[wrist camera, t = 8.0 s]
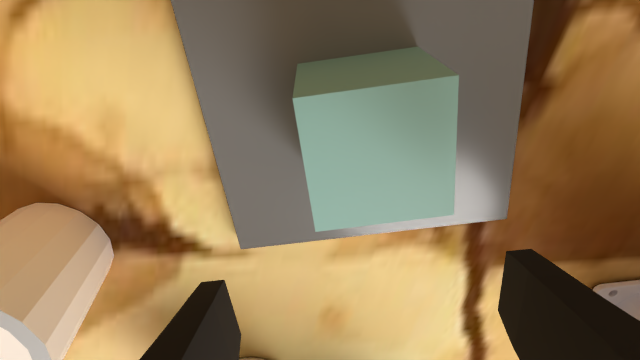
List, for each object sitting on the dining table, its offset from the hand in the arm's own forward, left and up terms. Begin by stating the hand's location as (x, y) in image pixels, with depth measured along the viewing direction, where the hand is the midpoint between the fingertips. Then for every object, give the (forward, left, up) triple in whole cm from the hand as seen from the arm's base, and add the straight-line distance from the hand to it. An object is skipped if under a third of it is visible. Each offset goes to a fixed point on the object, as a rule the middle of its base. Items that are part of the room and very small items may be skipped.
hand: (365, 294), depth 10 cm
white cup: (+16, +4, -10) cm, 19 cm away
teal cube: (-1, -2, -9) cm, 9 cm away
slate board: (-1, -2, -10) cm, 10 cm away
